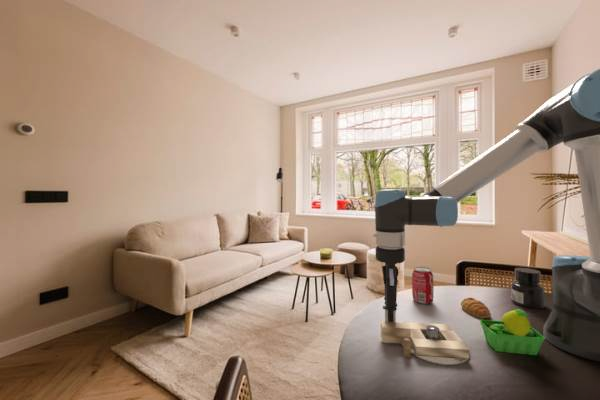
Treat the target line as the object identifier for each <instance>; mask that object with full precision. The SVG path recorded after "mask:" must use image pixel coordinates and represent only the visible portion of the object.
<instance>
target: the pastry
mask: <svg viewBox="0 0 600 400" xmlns="http://www.w3.org/2000/svg"><path fill="white" fill-rule="evenodd" d="M460 305H461V308H462V309H463V310H464V311H465V312H466V313H467V314H469V315H471V316H472V317H476V318H479V319H490V317H491V316H492V314H491V312H490V309H489V308H488V307H487V305H486V304H485V303H483V302H482V301H480V300H477V299H476V298H473V297H466V298H463V299H462V301H461V302H460Z"/></svg>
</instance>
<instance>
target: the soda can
mask: <svg viewBox="0 0 600 400" xmlns="http://www.w3.org/2000/svg"><path fill="white" fill-rule="evenodd" d="M411 276H412V277H411V278H412V280H411V282H412V284H411V286H412V287H411V293H412V299H413V301H415V302H416V303H418V302H419V303H418V304H420V303H423V304H422V305H429V304H428V303H430V304H431V303H434V274H433V272H432V269H431V268H429V267H425V266H416V267H413V271H412V275H411Z"/></svg>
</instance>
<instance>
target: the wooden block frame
mask: <svg viewBox="0 0 600 400" xmlns="http://www.w3.org/2000/svg"><path fill="white" fill-rule="evenodd" d="M428 325H433V326H436V327H438V328H439V334H440V339H441V340H430V339H426V338H425V337H427V326H428ZM380 338H381V342H382V343H387V344H389V343H390V344H401V343H403V339H404V338H408V339H410V340H411V346H412V348H413V350H414V352H415V354H416V355H430V356H445V357H461V358H469V359H470V348H469V347H468V346H467V345H466V344H465V343H464V342H463V340H462V339H461V338H460V337H459V336H458V334H457V333H456V332H455V331H454V330H453V329H452V328H451V326H450V325H449V324H447V323H446V324H445V323H427V322H410V321H408V322H407V321H406V322H405V321H404V322H397V321H396V323H395V322H385V321H380ZM467 347H468V348H467Z"/></svg>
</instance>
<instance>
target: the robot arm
mask: <svg viewBox="0 0 600 400" xmlns="http://www.w3.org/2000/svg"><path fill="white" fill-rule="evenodd" d="M562 143H563V145H564V146H566V147H567V148H570V149H572V150H573V151H574V155H575V162H576V167H577V168H576V169H577V170H576V171H577V175H578V183H579V191H580V194H581V202H582V210H583V217H584V223H585V228H586V235H587V242H588V243H587V244H588V248H589V255H590V256H588V255H587V256H585V255H569V254H568V255H567V254H565V255H564V254H561V255H555V256H554V257H553V260H552V266H551V275H552V276H551V277H552V281H551V283H552V284H551V285H552V286H551V287H552V294H551V295H552V303H551V304H552V305H551V307H552V308H551V310H550V313H549V315H548V317H547V319H546V321H545V323H544V325H543V332H542V333H543V334H542V336H544V337H545V339H544V340H547V342H549V343H550V344H551V345H552V346H555V347H557V348H558V349H560V350H561V351H565V352H567V353H569V354H571V355H574V356H576V357H580V358H584V359H587V360H590V361H595V362H600V68H598V69H596V70H594V71H592V72H590V73H586V74H585V75H583V76H582V77H580V78H579V79H577V80H576V81H575V82H574V83H572V84H570V85H569V86H568V87H566V88H565V89H563V90H560V91H559V92H557V93H556V94H554V95H553V96H552V97H550V98H549V99H548V100H546V101H545V102H544V103H543V104H542V105H541V106H540V107H539V108H537V109H536V110H535V111H534V112H533V113H532V114H531V115H529V116H528V117H526V118H525V119H524V120H523V121H521V122H520V123H519V124H517V125H516V126H515V128H514V132H512V133H510V134H509V135H508V136H506V137H505V138H503V139H501V141H499V142H498V143H496V144H495V145H493V146H491V147H490V148H489V149H487V150H486V151H485V152H483V153H482V154H480V155H479V156H477V157H476V158H475V159H473V160H471V161H470V162H469V163H467V164H466V165H464V166H463V167H461V168H459V170H457V171H456V172H454V173H453V174H451V175H450V176H448V177H447V178H446V179H444V180H443V181H441V182H440V183H438V184H436V185H435V186H434V187H433V188H431V189H429V190H428V191H427V192H425V193H424V194H423V195H420V196H408V195H407V196H406V193H405V190H404V189H379V190H378V191H376V193H375V202H374V203H375V205H374V211H375V212H374V215H375V217H374V218H375V233H373V234H372V236H373V237H374V238H375V244H376V245H377V246H375V260H377V262H380V263H384V265H382V266H381V270H382V279H383V284H384V297H383V299H384V305H382V309H383V310H384V322H395V323H396V322H397V320H396V319H397V318H396V313H397V312H396V311H397V309H398V308H397V307H398V303H397V295H398V294H397V292H398V291H397V287H398V282H399V280H398V276H399V269H398V266H397V265H398V264H401V263H403V262H405V260H406V253H405V252H406V249H405V245H406V228H405V226H426V227H427V226H430V227H431V226H433V227H441V228H442V227H452V226H455V225H456V224H457V222H458V215H459V208H458V203H461V202H462V201H463V200H465V199H466V198H468V197H470V196H471V195H473V194H475V193H476V192H477V191H479V190H480V189H482V188H484V187H486V185H488V184H490V183H491V182H493V181H495V180H496V179H497V178H499V177H501V176H502V175H504V174H505V173H507V172H509V171H510V170H511V169H513V168H515V167H517V166H518V165H519V164H521V163H523V162H525V161H526V160H527V159H529V158H530V157H532V156H534V155H535V154H536V153H540V154H542V153H546V152H547V151H549V150H550V149H552V148H554V147H556V146H557V145H560V144H562Z"/></svg>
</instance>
